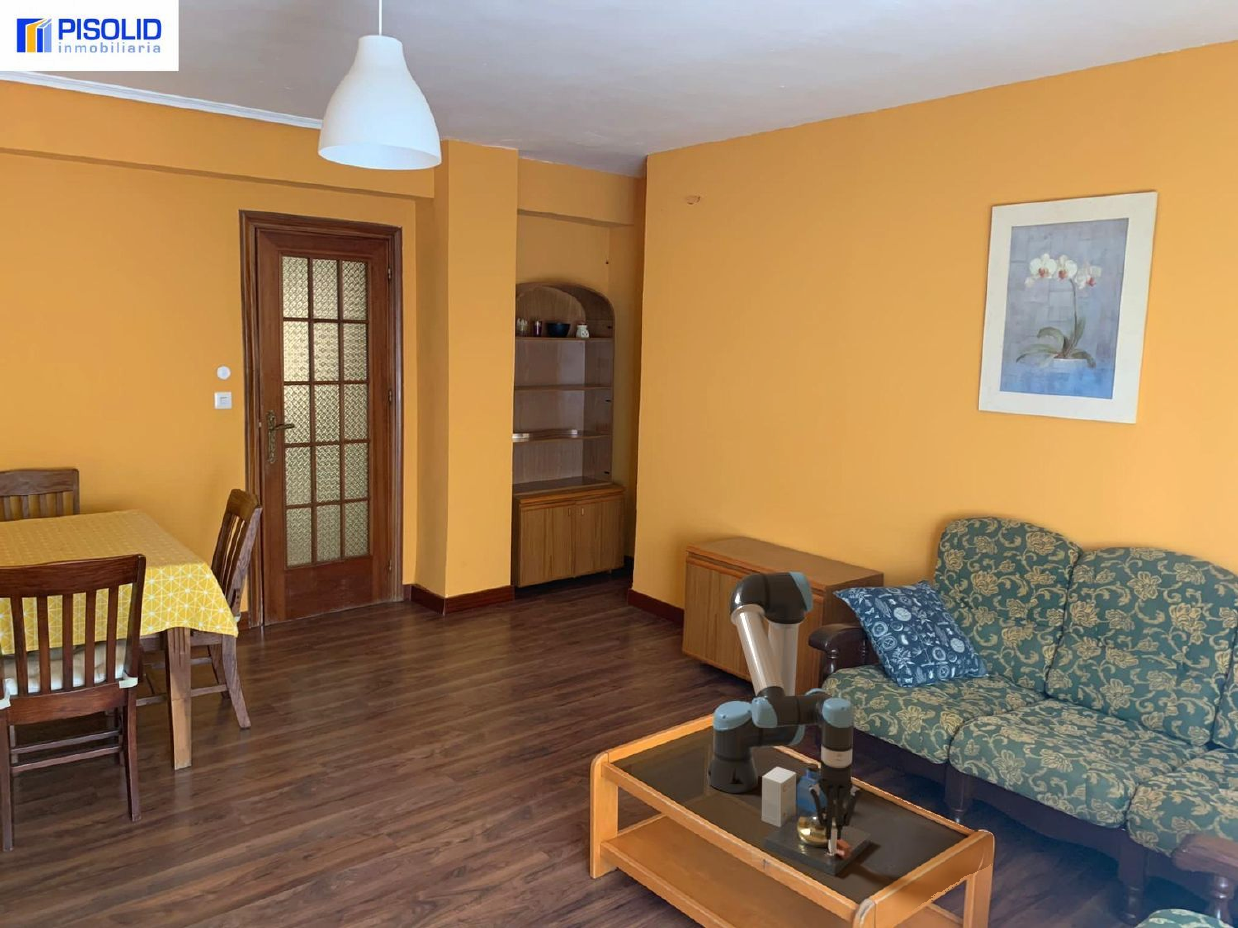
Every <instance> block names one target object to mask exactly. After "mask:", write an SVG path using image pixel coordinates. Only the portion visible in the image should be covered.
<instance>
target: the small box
mask: <svg viewBox="0 0 1238 928" xmlns="http://www.w3.org/2000/svg"><path fill="white" fill-rule="evenodd" d="M761 778H762V779H761V781H762V782H761V785H762V786H761V821H762V822H765V823H766V824H769V825H771V826H774V827H777V828H780V827H781V826H782V825H784V824H785V823H786V822H788V821H789V820H790V819H792V818H793V817H794V816H796V813H797V811H796V810H797V809H796V807H797V806H796V803H797V773H796V772H795V771H792V770H789V769H787V768H784V767H779V766H775V767H774V768H772V769H771V770H770V771H768V772H766V774H764V775H763V776H762V777H761Z"/></svg>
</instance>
